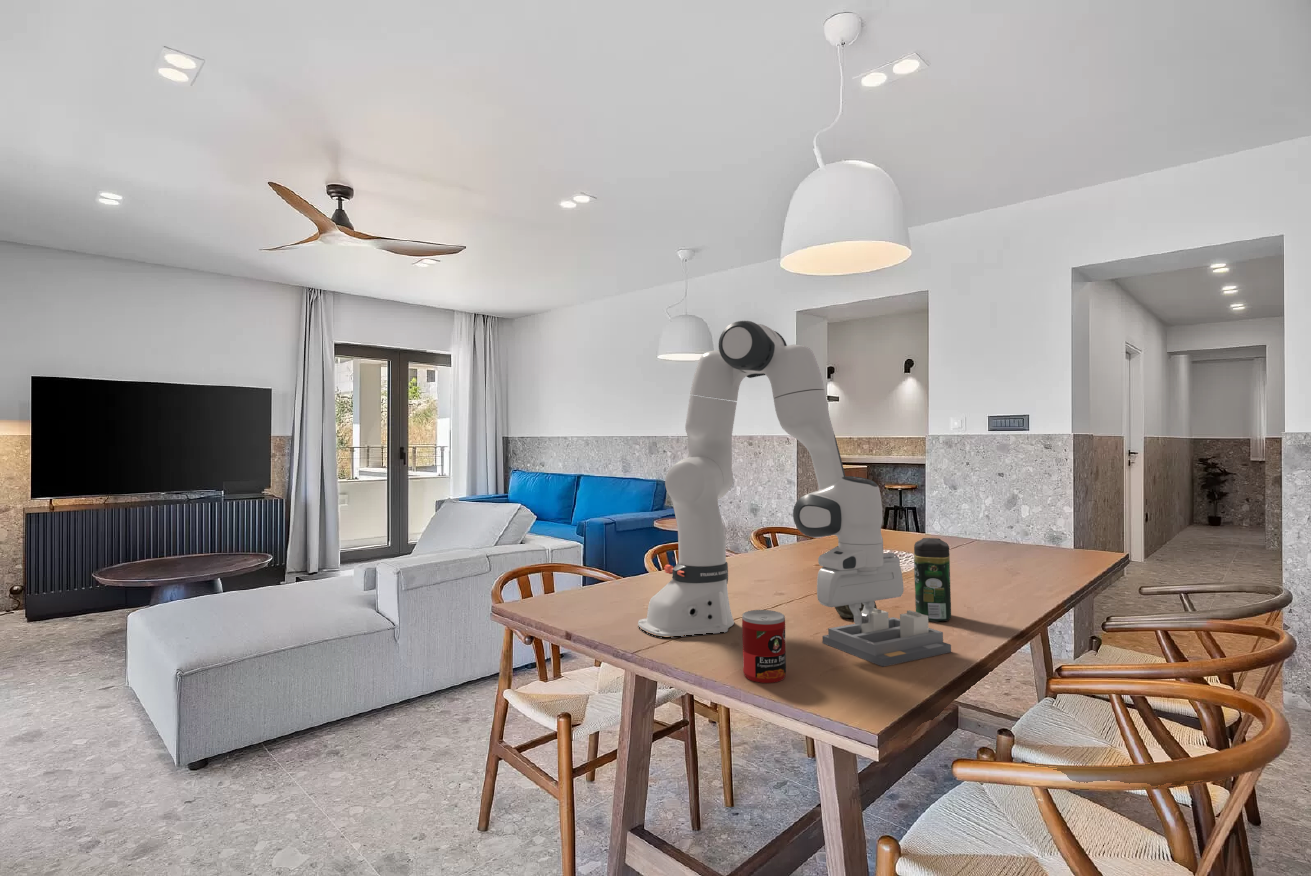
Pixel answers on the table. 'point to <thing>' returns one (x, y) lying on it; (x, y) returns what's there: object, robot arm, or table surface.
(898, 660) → the switch bank
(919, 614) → the tab near
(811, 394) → the robot arm
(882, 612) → the tab far
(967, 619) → the table surface
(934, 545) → the coffee jar
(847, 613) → the dark green lumpy mound
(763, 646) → the canned food
